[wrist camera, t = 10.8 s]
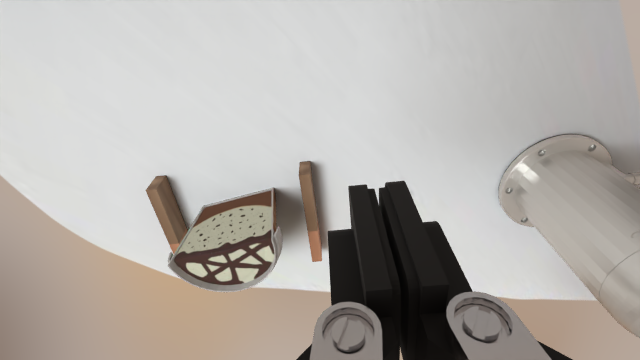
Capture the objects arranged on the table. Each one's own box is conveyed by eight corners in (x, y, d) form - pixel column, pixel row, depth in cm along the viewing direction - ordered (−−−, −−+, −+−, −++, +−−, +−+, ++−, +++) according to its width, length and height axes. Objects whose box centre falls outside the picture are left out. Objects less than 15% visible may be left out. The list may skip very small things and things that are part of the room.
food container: (213, 244, 47) (191, 305, 38) (192, 208, 44) (162, 266, 35) (300, 222, 45) (297, 282, 36) (284, 184, 42) (277, 239, 33)
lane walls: (310, 161, 40) (309, 174, 38) (321, 245, 47) (321, 260, 44) (156, 176, 41) (145, 190, 38) (189, 256, 48) (181, 273, 45)
